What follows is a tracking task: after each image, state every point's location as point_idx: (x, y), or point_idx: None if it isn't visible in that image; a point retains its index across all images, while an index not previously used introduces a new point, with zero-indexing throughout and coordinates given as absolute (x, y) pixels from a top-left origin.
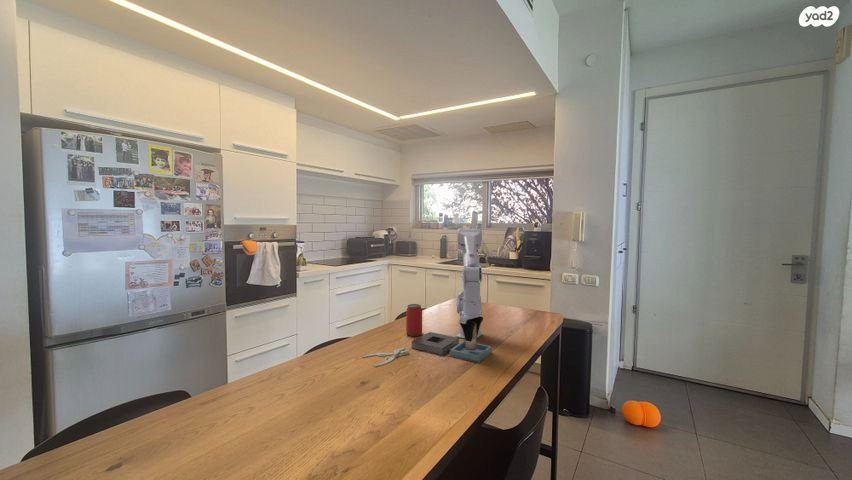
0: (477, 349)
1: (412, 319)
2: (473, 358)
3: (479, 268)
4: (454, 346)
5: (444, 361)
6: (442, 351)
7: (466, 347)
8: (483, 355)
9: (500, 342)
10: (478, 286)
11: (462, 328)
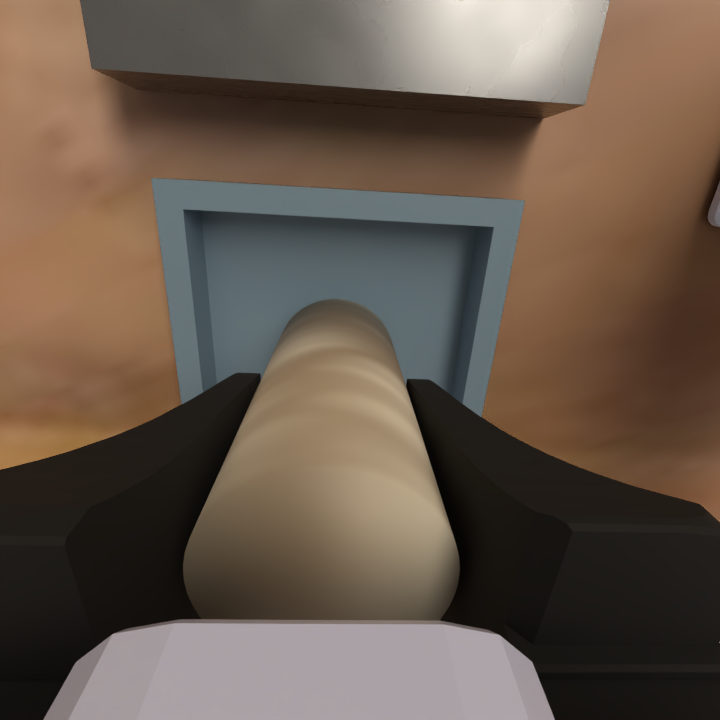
0: (437, 364)
1: None
2: None
3: None
4: (433, 108)
5: (30, 191)
6: (122, 79)
7: (279, 339)
8: None
9: (705, 444)
10: None
11: (97, 447)
